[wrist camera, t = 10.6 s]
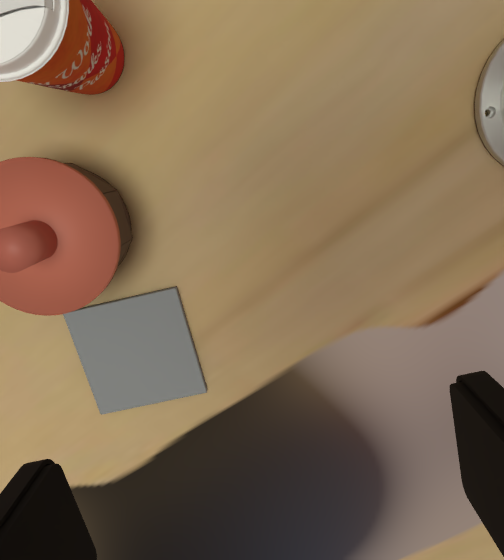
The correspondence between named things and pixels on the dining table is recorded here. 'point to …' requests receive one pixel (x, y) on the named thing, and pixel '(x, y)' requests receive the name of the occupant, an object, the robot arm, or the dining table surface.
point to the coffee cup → (59, 45)
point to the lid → (53, 237)
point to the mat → (137, 350)
